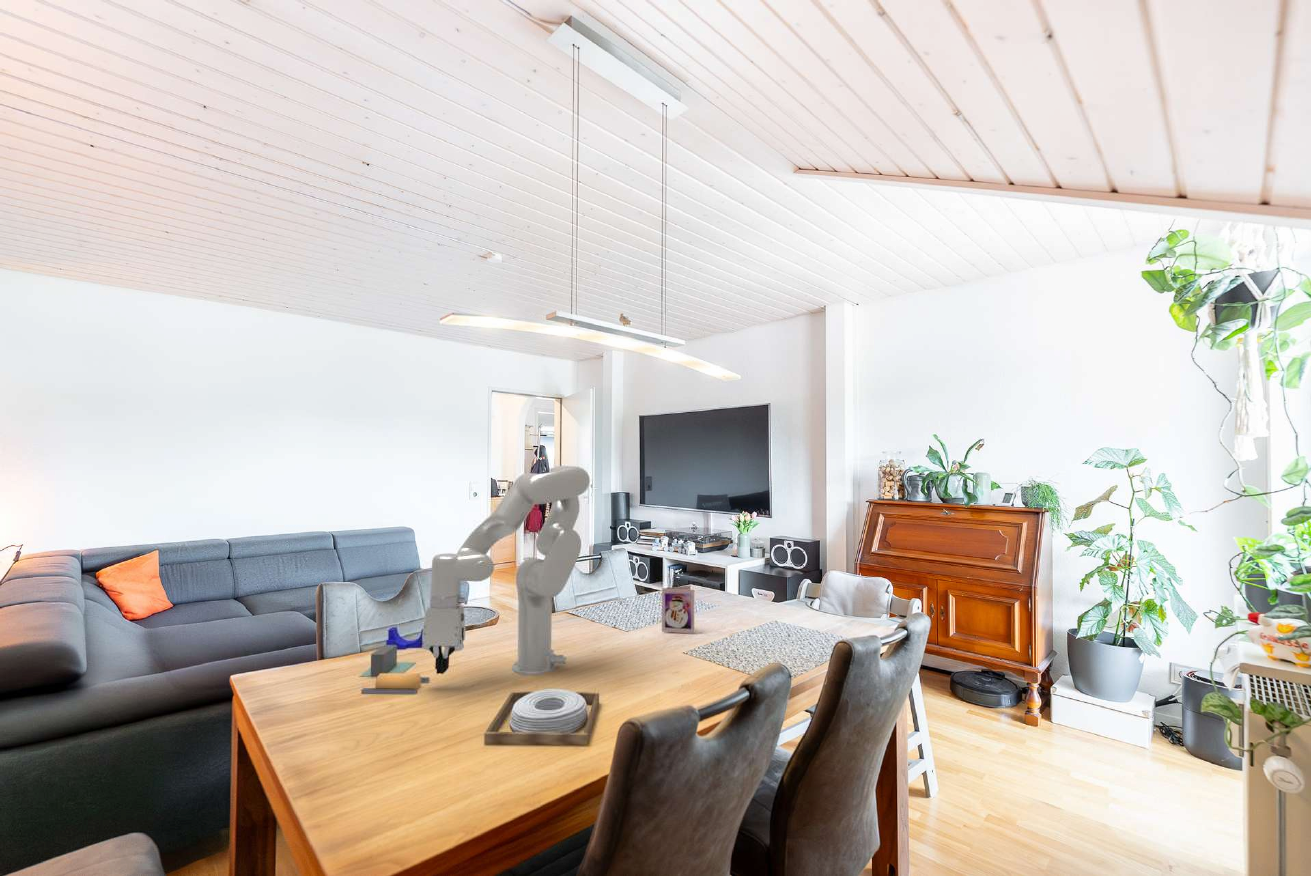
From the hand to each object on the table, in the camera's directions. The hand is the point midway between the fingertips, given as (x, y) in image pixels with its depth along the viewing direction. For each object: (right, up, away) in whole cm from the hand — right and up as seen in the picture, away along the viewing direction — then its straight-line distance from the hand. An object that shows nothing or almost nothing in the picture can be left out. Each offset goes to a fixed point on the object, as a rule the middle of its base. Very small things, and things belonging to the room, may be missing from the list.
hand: (441, 671), depth 152 cm
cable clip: (-23, -6, +34) cm, 42 cm away
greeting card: (+65, -7, +53) cm, 84 cm away
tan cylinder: (-11, -5, +1) cm, 12 cm away
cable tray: (+31, -4, -20) cm, 38 cm away
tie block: (-21, -5, +12) cm, 25 cm away
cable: (+32, -5, -20) cm, 38 cm away
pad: (-21, -5, +14) cm, 25 cm away
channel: (-12, -5, +1) cm, 13 cm away
